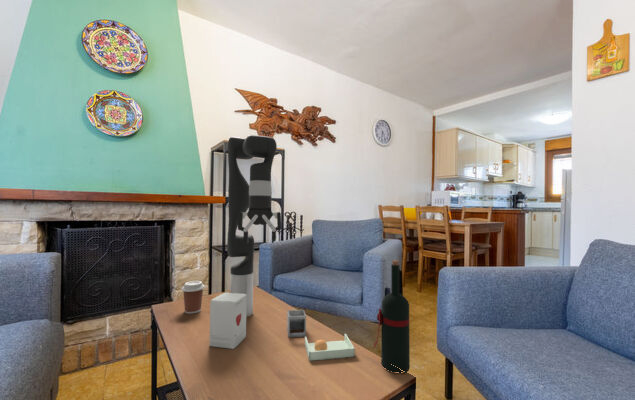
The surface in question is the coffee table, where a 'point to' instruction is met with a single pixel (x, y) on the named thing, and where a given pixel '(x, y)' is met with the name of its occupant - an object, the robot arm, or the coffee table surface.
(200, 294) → the coffee cup
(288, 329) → the grey hollow box
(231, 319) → the supplement box
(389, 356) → the wine bottle
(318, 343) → the ball
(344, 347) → the tray
